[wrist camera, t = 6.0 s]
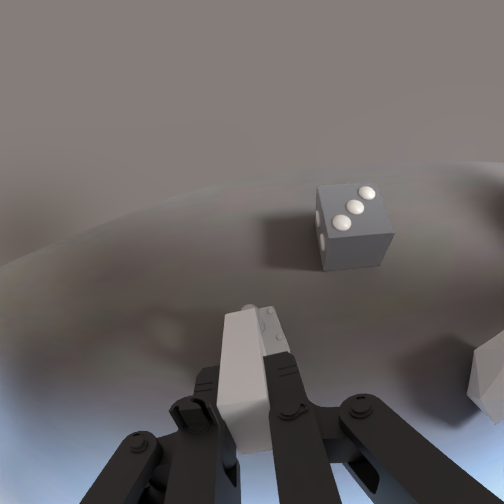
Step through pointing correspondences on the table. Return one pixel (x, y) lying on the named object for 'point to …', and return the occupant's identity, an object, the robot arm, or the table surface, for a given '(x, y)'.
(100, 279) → the table surface
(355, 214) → the dotted block
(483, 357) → the die
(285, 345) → the padlock
